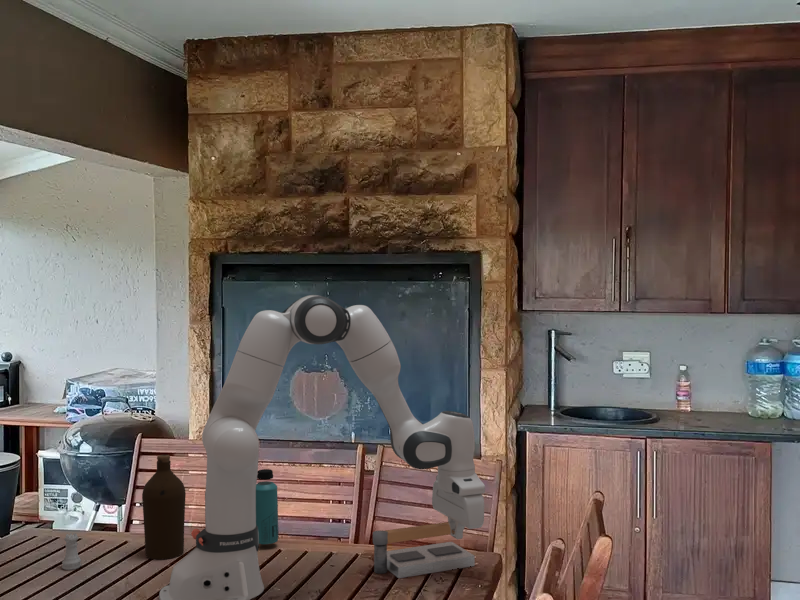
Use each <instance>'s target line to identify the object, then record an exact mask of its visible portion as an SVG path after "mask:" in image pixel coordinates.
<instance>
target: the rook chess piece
mask: <svg viewBox="0 0 800 600" xmlns="http://www.w3.org/2000/svg"><path fill="white" fill-rule="evenodd" d="M63 540H64V542H65V545H64V546H65V554H64V557H63V560H62V562H61V564H62V565H61V568H62V569H63V570H65V571H73V570H74V571H75V570H78V569H79V568H81V566H82V563H81V562H82V560H81V558H80V555H79V553H78V540H79V536H78V533H76V532H73V533H72V532H71V533H66V534H65V537H64V538H63Z"/></svg>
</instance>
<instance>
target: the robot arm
mask: <svg viewBox="0 0 800 600" xmlns="http://www.w3.org/2000/svg"><path fill="white" fill-rule="evenodd" d="M299 342H302V343H306V344H309V345H324V344H330V343H333V342H335V343H337V344H338V346H339V347H340V348H341V350H342V351H343V353H344V355H345V357H346V359H347V361H348V363H349V365H350V366H351V368H352V370H353V372H354V373H355V375H356V376H357V377H358V379H359V381H361V383H362V384H363V385H364V386H365V388H366V389H368V390H369V392H370V393H371V394H372V395H373V397H374V398H375V400H376V402H377V403H378V406H379V408H380V410H381V412H382V414H383V416H384V418H385V420H386V422H387V424H388V427H389V428H388V429H389V436H390V437H389V438H390V445H391V448H392V451H393V452H394V455H396V456H397V457H398V458H399V459H401V460H402V461H404V463H407V465H409V467H412V468H414V469H416V470H429V469H432V468H437V475H436V477H435V480H434V482H433V484H432V485H433V486H432V496H431V497H432V498H431V505H432V507H433V510H435V511H436V512H439V513H440V514H442V515H444V516H445V517H447V522H448V523H449V526H450V529H451V535H450V536H451V537H452V538H454V539H457V540H461V539H463V537H464V530H465V528H467V529H469V530H473V529H480V528H482V527H483V525H484V523H485V498H484V495H483V494H485V493H486V485H485V483H484V482H483V481H482V480H481V478H479V475H478V474H477V473H476V465H475V464H476V463H475V462H474V454H475V451H476V449H475V448H476V445H475V444H476V443H475V441H476V440H475V429H474V422H473V420H472V419H471V417H470V416H468V415H467V414H466V413H463V412H458V411H454V410H453V411H452V410H443V411H441V412H440V413H439V414H438V415H437V416H436V417H434V418H432V419H431V420H429V421H427V422H425V423H422V422H421V421H420V420H419V419H417V418H416V416H414V414H413V413H412V411H411V409H410V407H409V405H408V403H407V401H406V399H405V397H404V395H403V393H402V391H401V389H400V388H401V387H400V385H399V375H400V372H401V367H402V366H401V361H400V358H399V355H398V352H397V349H396V347H395V344H394V343H393V341H392V339H391V337H390V335H389V334H388V332H387V330H386V328H385V326H383V323H382V322H381V321H380V320H379V318H378V316H377V314H375V313H374V311H373V310H372V309H371V308H370V307H369V306H367V305H364V304H356V305H355V304H354V305H351V306H348V307H346V308H345V307H343V306H341V305H340V304H338V303H337V302H336V301H334V300H332V299H331V298H328V297H326V296H322V295H317V294H310V295H306V296H303V297H300V298H298V299H297V300H295V301H293V302H292V303H291V304H290V305H289V306H288V307H287V308H285V309H284V310H283V311H282V312H279V311H277V310H273V309H271V310H270V309H265V310H261V311H259V312H257V313H256V314H255V315H254V316H253V318H252V320H251V321H250V323H249V325H248V326H247V328H246V330H245V332H244V334H243V335H242V337H241V340H240V342H239V344H238V347H237V350H236V352H235V355H234V357H233V360H232V363H231V366H230V369H229V371H228V373H227V377H226V379H225V381H224V384H223V387H221V390H220V392H219V395H218V396H217V399H216V400H215V402H214V404H213V407H212V408H211V411H210V413H209V416H208V418H207V421H206V423H205V425H204V427H203V430H202V434H201V439H202V440H201V441H202V442H201V443H202V444H203V447H204V449H205V452H206V477H205V479H206V480H205V491H204V512H205V513H204V521H205V523H204V524H205V527H204V528H203V529H202V530H200V529H198V528H194V529H192V531H191V534H190V535H191V536H192V539H194V540H195V546H196V547H195V548H193V549H192V550H191V551H189V552H188V553H187V554H186V555H185V556H184V557H183V558H181V559H180V560H179V561H178V562H177V563H175V565H174V566H173V568H172V570H171V574H170V577H169V578H170V579H169V584H167V585H165V586H163V587H162V588H161V589H160V591H159V595H158V599H159V600H251V599H254V598H256V597H257V596H259V595H261V594H262V593H263V592H264V590H265V586H264V583H263V579H262V576H261V572H260V571H261V570H260V566H259V564H260V563H259V559H258V558H259V556H258V551H259V546H260V544H259V533H258V526H256V484H257V483H258V482H257V480H258V479H257V474H258V471H259V459H260V458H259V457H260V456H259V455H260V440H259V437H258V434H257V432H256V430H257V428H258V425H259V423H260V420H261V418H262V417H263V415H264V413H265V411H266V409H267V408H268V406H269V405H270V403H271V402H272V400H273V399H274V398H273V397H274V394H275V392H276V389H277V387H278V383H279V381H280V378H281V375H282V373H283V371H284V367H285V364H286V362H287V358H288V356H289V353H290V352H291V350H292V349H293V347H294V346H295V345H296V344H298V343H299Z"/></svg>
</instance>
